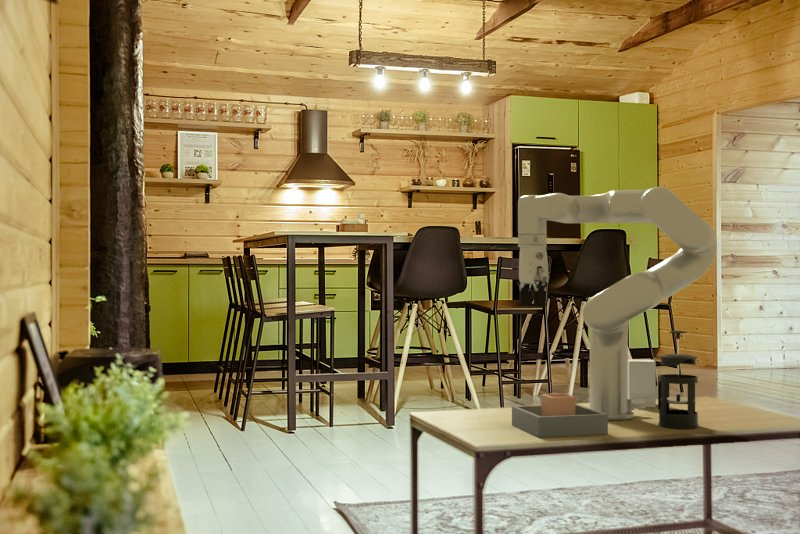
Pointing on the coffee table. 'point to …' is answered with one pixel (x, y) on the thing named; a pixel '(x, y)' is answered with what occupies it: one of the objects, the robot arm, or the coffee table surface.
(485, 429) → the coffee table surface
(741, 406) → the coffee table surface
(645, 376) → the supplement box
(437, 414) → the coffee table surface
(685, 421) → the french press
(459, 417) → the coffee table surface
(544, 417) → the grey square tray
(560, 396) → the small crate
